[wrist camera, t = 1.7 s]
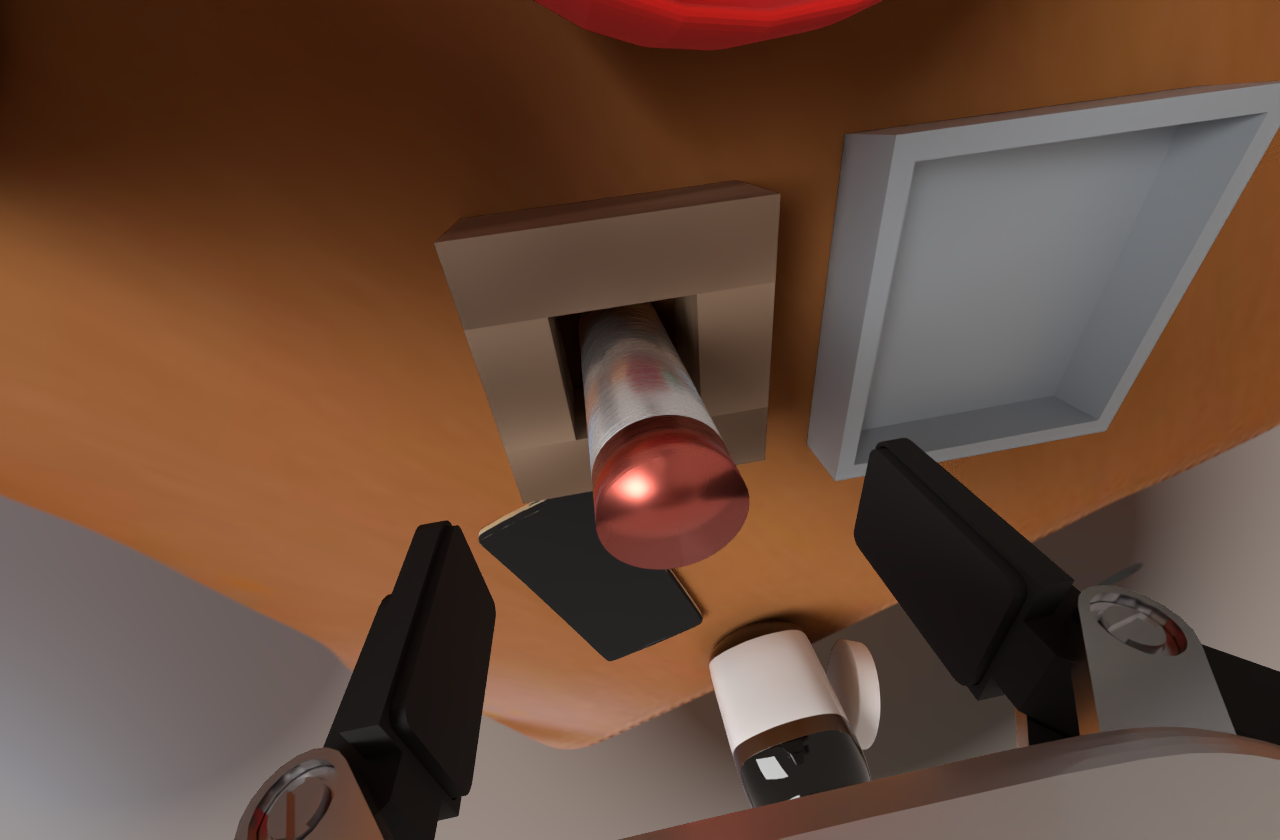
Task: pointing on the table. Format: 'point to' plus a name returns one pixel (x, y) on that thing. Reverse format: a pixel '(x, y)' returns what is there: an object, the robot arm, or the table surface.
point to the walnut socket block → (610, 277)
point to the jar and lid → (795, 711)
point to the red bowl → (703, 19)
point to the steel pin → (653, 446)
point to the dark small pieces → (589, 577)
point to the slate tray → (1019, 265)
